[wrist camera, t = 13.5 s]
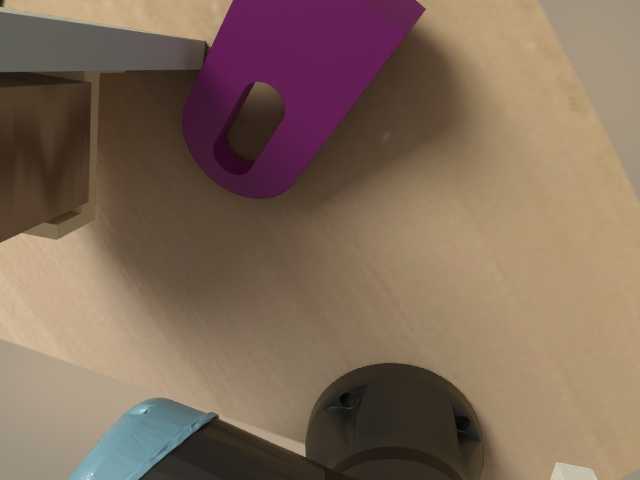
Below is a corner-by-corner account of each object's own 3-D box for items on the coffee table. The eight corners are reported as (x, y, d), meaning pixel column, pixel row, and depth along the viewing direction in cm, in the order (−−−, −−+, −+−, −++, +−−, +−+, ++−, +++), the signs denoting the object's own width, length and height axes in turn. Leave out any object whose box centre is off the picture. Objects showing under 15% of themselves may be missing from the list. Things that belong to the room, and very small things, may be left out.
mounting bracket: (306, 166, 49) (437, -5, 37) (265, 219, 43) (406, 36, 31) (219, 98, 48) (324, -100, 36) (165, 143, 42) (268, -77, 30)
